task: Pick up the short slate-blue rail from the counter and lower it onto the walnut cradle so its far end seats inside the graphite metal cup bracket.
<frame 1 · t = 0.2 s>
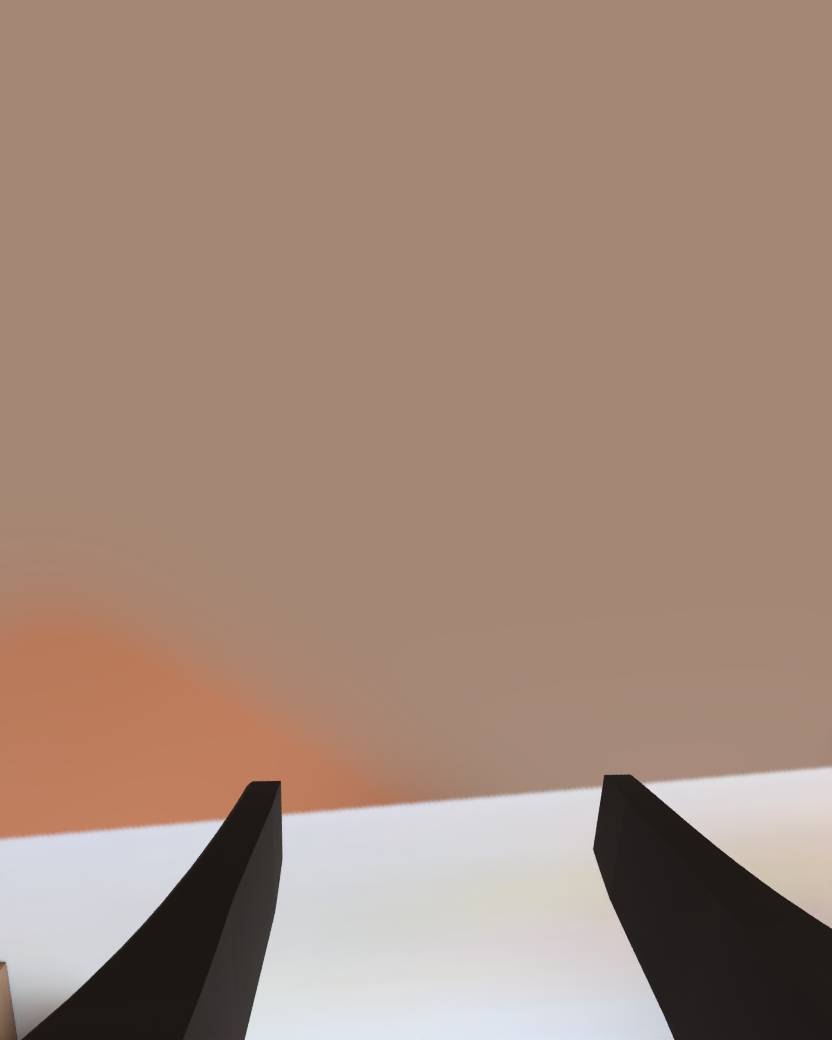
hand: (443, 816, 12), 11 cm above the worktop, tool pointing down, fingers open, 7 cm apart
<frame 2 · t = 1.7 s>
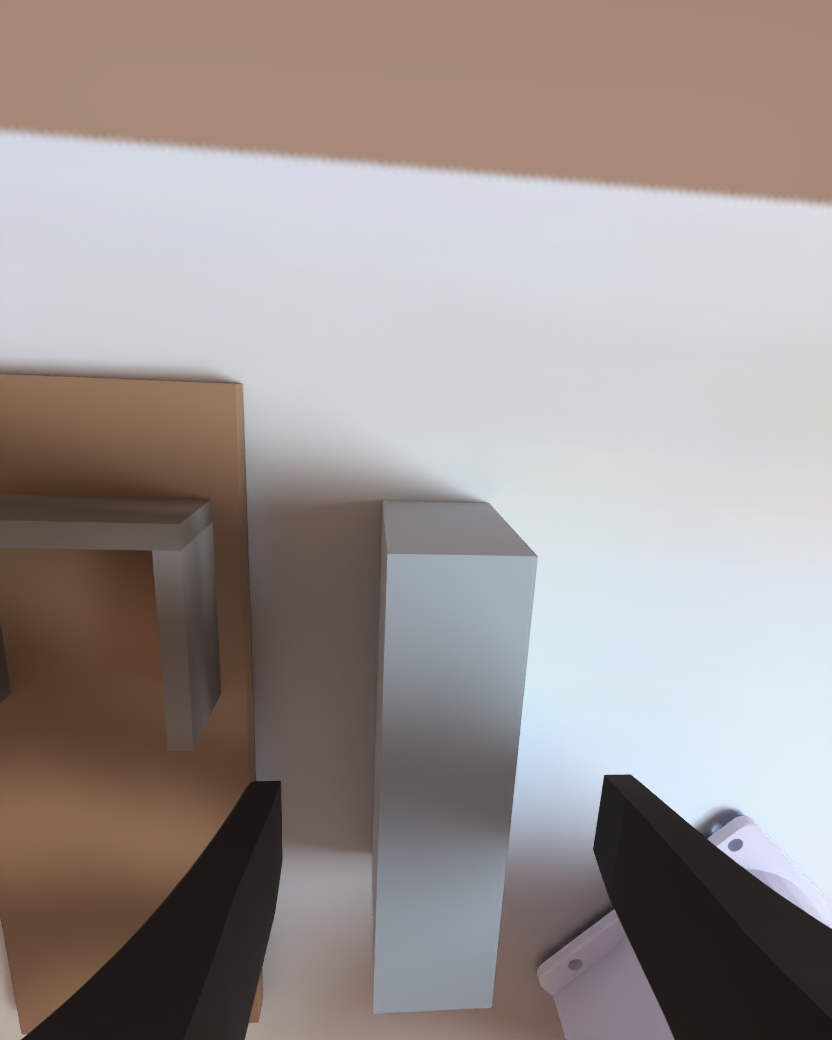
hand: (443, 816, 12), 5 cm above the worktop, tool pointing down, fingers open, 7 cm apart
rail: (425, 689, 17), on the worktop
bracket: (126, 752, 17), on the worktop
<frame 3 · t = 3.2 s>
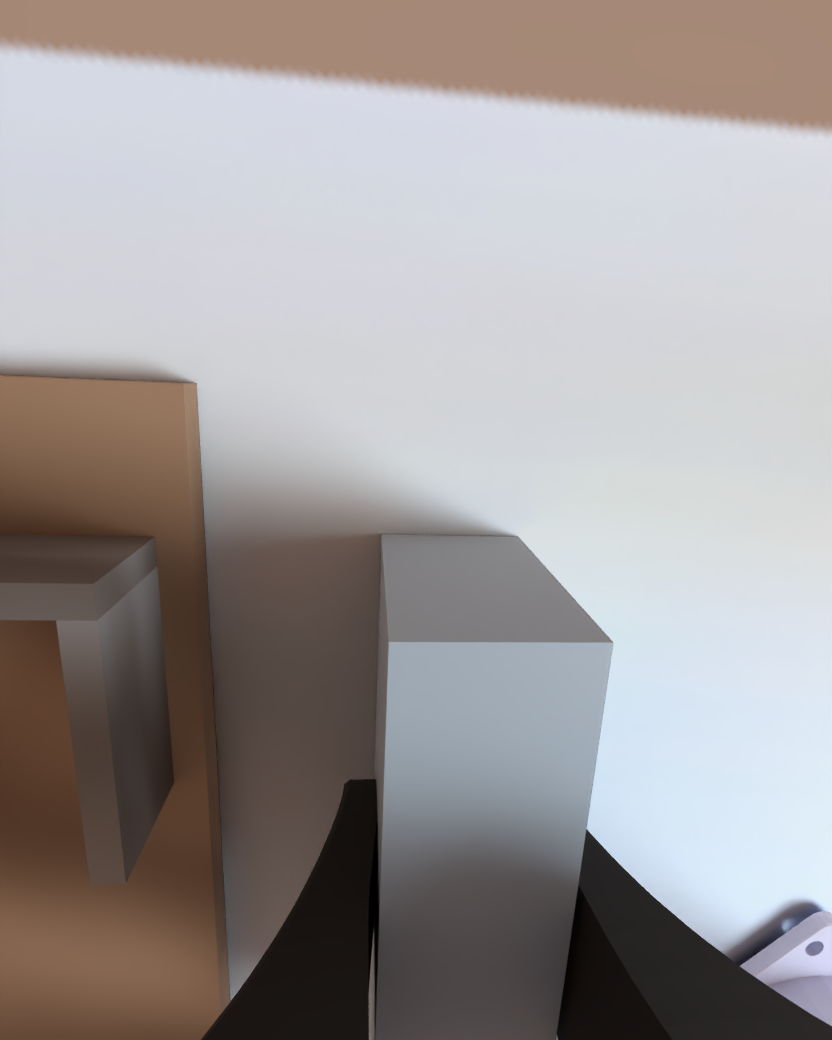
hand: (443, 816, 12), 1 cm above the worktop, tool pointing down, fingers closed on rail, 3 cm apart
rail: (436, 770, 14), on the worktop, touching gripper
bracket: (58, 850, 13), on the worktop
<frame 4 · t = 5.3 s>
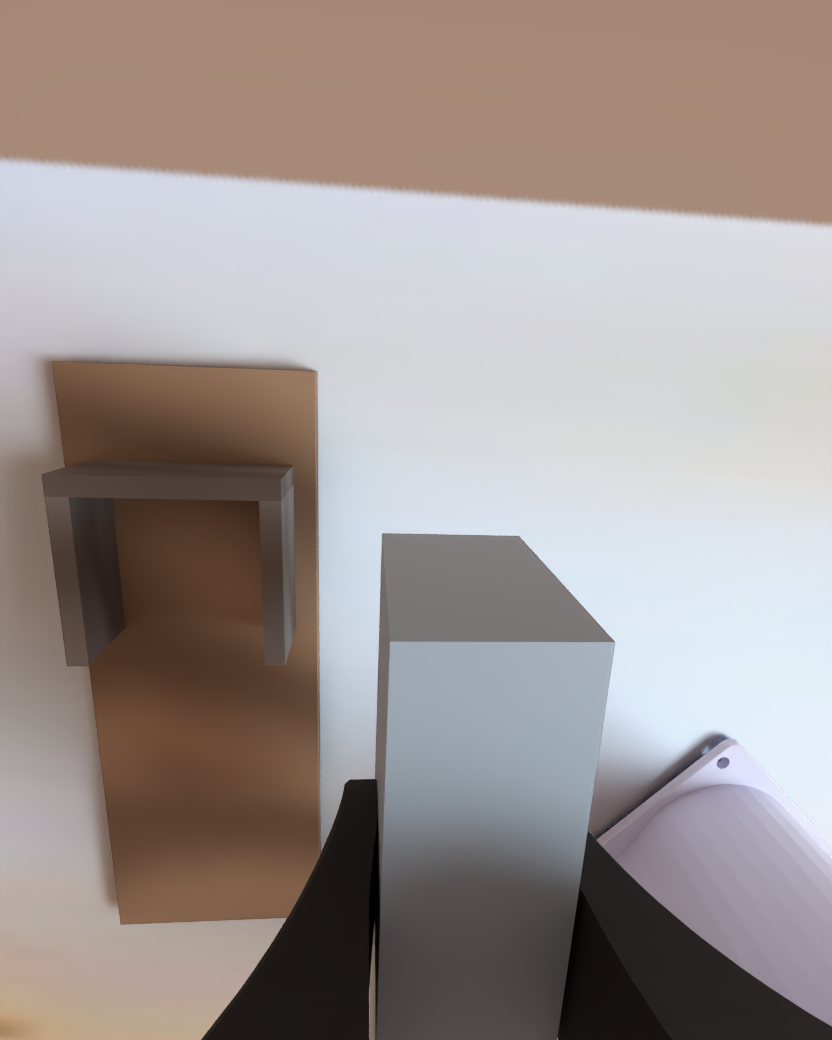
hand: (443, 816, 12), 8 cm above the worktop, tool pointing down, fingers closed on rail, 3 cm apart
rail: (436, 770, 14), point 7 cm above the worktop, touching gripper
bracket: (213, 681, 20), on the worktop
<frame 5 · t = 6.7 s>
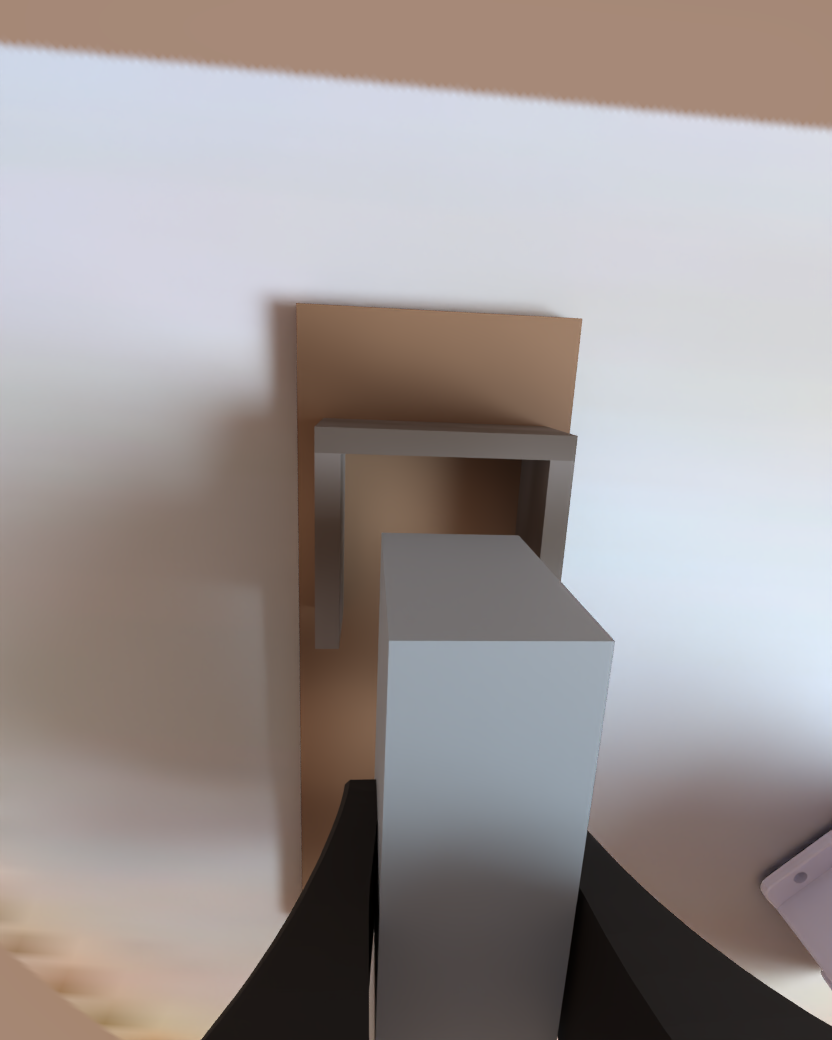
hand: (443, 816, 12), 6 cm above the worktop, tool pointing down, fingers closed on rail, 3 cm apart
rail: (436, 770, 14), point 5 cm above the worktop, touching gripper
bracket: (420, 670, 18), on the worktop
when the fingers open (3 cm above the worktop, at t = 7.6 s): rail drops 1 cm, resting on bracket.
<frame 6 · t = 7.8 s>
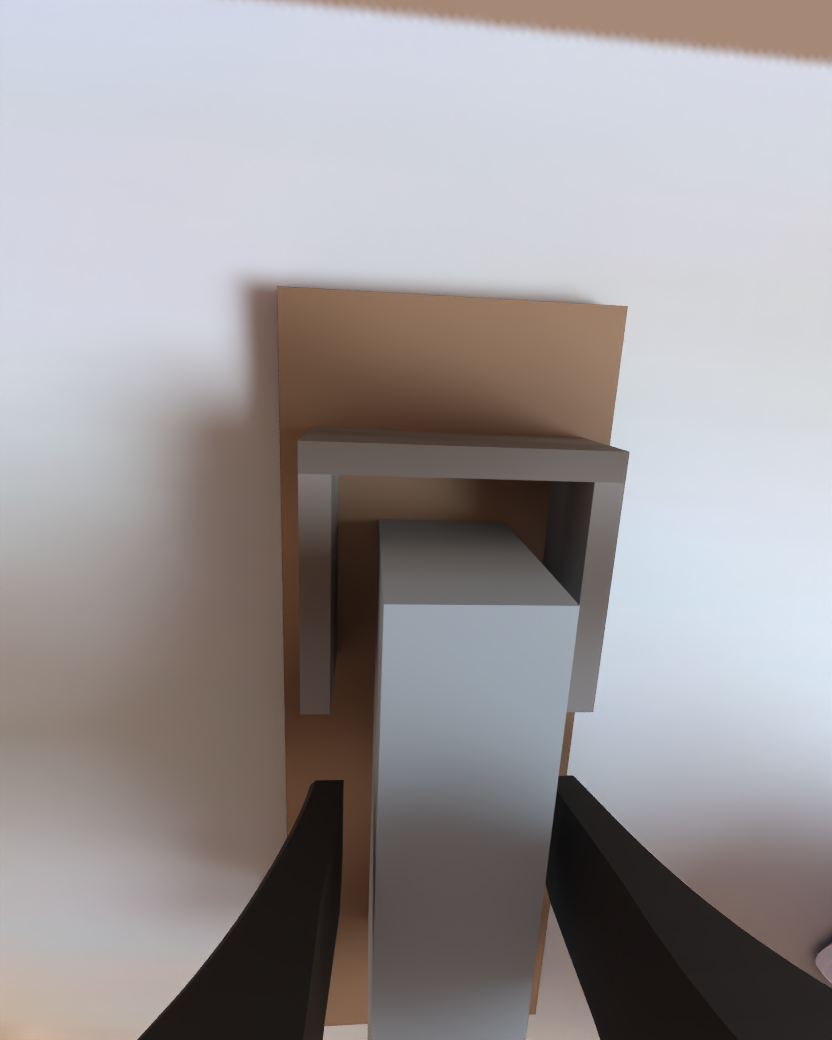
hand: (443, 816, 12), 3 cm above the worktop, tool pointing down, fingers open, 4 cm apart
rail: (429, 739, 15), point 1 cm above the worktop, touching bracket
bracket: (428, 722, 16), on the worktop
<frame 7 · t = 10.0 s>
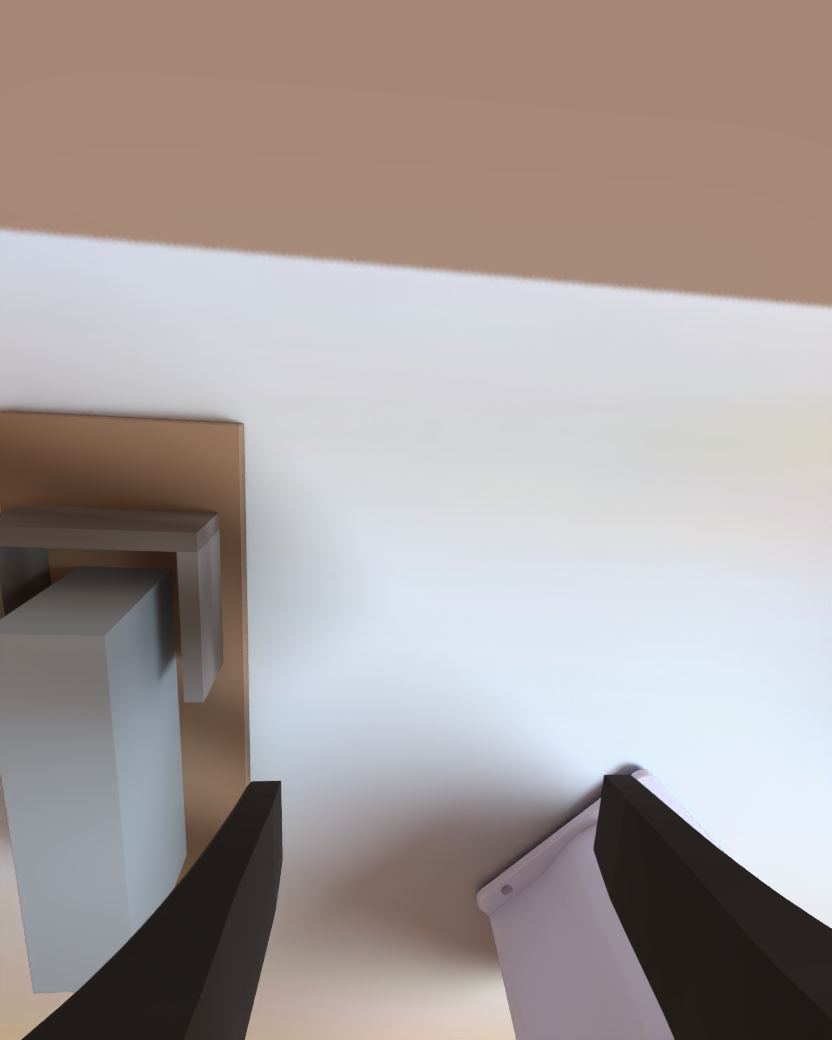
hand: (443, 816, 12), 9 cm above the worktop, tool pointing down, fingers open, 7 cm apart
rail: (137, 722, 20), point 1 cm above the worktop, touching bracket
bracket: (146, 710, 21), on the worktop
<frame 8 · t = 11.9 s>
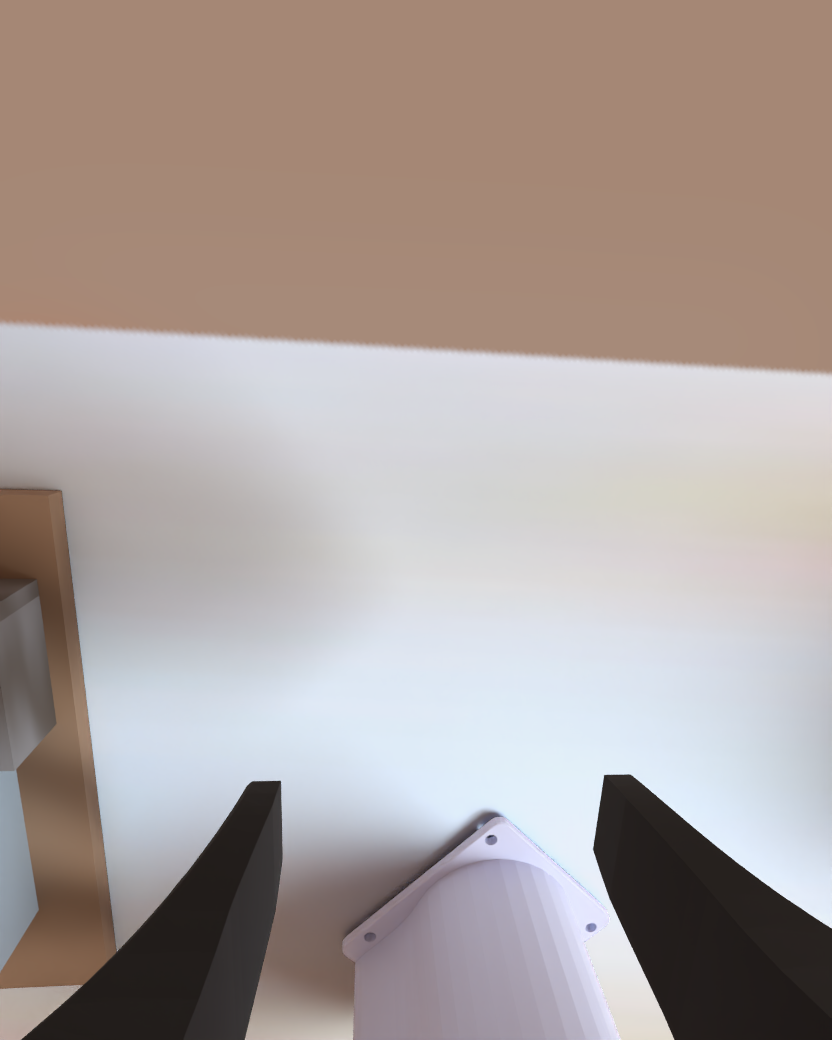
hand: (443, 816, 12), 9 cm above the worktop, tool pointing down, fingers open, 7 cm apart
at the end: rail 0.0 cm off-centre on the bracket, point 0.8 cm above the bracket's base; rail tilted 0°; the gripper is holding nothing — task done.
